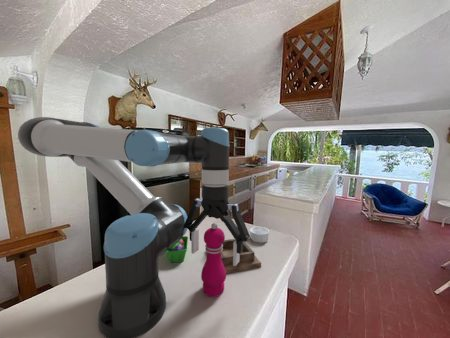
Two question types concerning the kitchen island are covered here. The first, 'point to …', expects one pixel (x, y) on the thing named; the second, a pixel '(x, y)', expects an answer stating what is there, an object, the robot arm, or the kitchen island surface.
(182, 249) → the fruit basket
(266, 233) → the ramekin
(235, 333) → the kitchen island surface
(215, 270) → the pepper mill
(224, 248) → the walnut stand
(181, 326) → the kitchen island surface
